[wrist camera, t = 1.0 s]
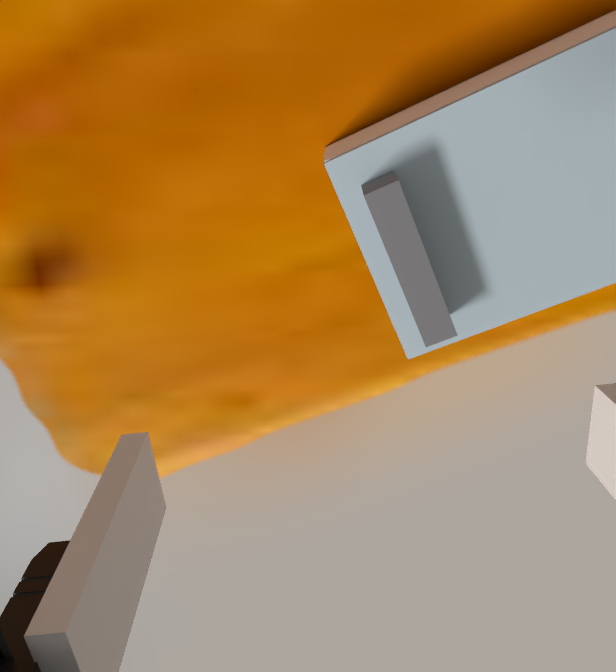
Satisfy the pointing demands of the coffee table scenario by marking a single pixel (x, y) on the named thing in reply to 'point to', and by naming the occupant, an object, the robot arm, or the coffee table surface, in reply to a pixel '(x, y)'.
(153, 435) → the coffee table surface
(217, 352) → the coffee table surface
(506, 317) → the lid
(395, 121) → the box
